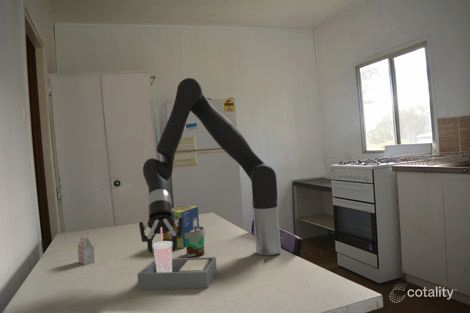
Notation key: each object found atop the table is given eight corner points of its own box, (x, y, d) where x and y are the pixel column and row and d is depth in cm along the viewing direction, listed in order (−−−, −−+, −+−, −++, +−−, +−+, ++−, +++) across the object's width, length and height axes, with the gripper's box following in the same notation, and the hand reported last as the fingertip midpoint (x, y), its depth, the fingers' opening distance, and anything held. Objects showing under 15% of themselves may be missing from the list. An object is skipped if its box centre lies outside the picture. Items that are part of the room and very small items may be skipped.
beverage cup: (164, 277, 102) (161, 230, 102) (150, 274, 106) (146, 229, 106) (178, 270, 108) (175, 225, 107) (164, 268, 111) (160, 224, 111)
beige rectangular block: (210, 273, 110) (209, 259, 110) (203, 285, 100) (201, 270, 100) (188, 273, 111) (187, 259, 111) (179, 286, 101) (178, 270, 101)
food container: (202, 259, 128) (200, 232, 128) (186, 259, 129) (184, 233, 129) (210, 249, 140) (209, 225, 140) (196, 250, 142) (194, 225, 141)
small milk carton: (88, 259, 140) (86, 234, 139) (94, 262, 135) (92, 237, 135) (78, 262, 137) (76, 236, 137) (85, 265, 132) (83, 239, 132)
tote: (216, 274, 111) (215, 257, 111) (208, 291, 98) (206, 272, 98) (155, 275, 114) (154, 259, 114) (138, 292, 101) (137, 274, 101)
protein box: (162, 247, 149) (159, 212, 149) (181, 238, 163) (178, 205, 163) (183, 248, 145) (180, 211, 145) (200, 239, 160) (198, 205, 159)
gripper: (136, 201, 112) (137, 247, 101) (181, 197, 115) (186, 241, 104) (138, 214, 117) (139, 259, 106) (181, 210, 120) (186, 253, 109)
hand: (162, 250), depth 105 cm, fingers closed on beverage cup, 6 cm apart
